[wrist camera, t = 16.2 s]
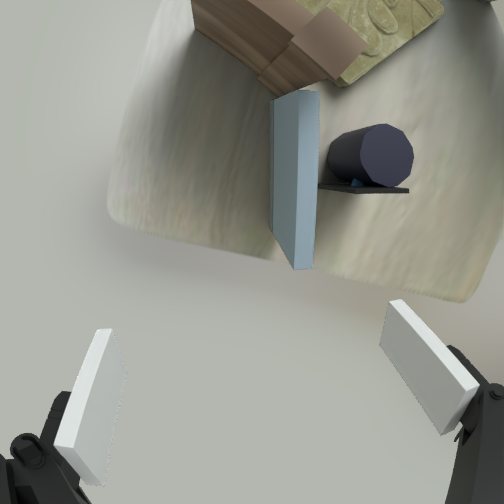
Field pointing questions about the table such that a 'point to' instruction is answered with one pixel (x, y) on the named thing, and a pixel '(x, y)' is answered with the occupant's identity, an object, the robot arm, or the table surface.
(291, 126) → the light blue flat panel
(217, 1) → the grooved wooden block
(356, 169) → the speaker
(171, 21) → the table surface
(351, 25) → the decorative tile
